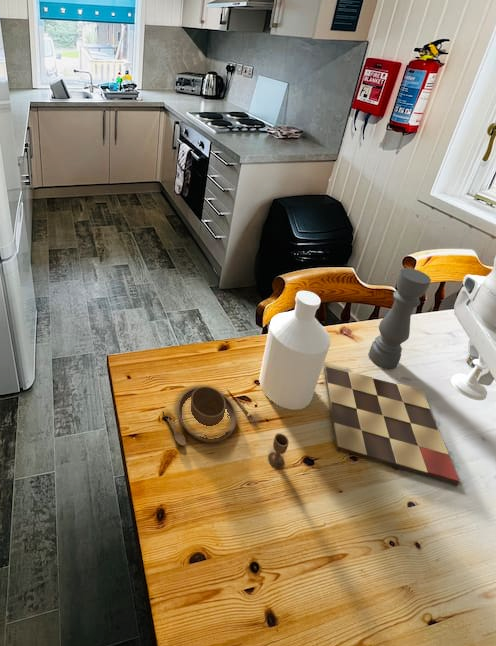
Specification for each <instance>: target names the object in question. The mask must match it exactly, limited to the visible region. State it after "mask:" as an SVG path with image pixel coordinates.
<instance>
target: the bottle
mask: <svg viewBox="0 0 496 646" xmlns="http://www.w3.org/2000/svg"><path fill="white" fill-rule="evenodd" d="M294 301H295V305H294V309H293V310H290V311H283V312H279V313H277V314H275V315H273V316H272V318H271V320H270V322H269V327H268V330H267V337H266V342H265V346H264V352H263V356H262V362H261V368H260V371H259V378H258V384H259V383H260V384H259V387H260V389H262V390H261V391H262V393H263V392H264V393H265V394H266V395H265V394H264V393H263V394H264V395H265V397H266V396H267V397H268V398H269V399H268V398H267V397H266V398H267V399H268V400H270V399H271V400H272V401H273V402H274V404H275V403H276V404H275V405H277V406H278V405H279V406H278V407H281V408H283V409H286V408H287V410H292V411H294V410H297V411H299V410H302V409H305V408H306V406H307V407H308V406H309V405H310V404H311V402H312V399H313V397H314V393H315V390H316V388H317V386H318V382H319V379H320V376H321V373H322V370H323V367H324V363H325V361H326V358H327V355H328V352H329V350H330V347H331V337H330V334H329V332H328V330H327V329H326V328H325V327H324V326H323V325H322V324H321V323H320V321H319V320H318V319H317V318H316V313H317V310H319V308H320V306H321V302H322V301H321V298H320V297H319V295H318V294H316V293H315V292H313V291H311V290H310V291H309V290H299V291H297V292H296V295H295V299H294ZM271 400H270V401H271ZM272 401H271V402H272ZM273 402H272V403H273Z"/></svg>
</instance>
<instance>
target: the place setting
mask: <svg viewBox="0 0 496 646" xmlns="http://www.w3.org/2000/svg"><path fill="white" fill-rule="evenodd" d="M190 397H191V412H192V415H193V416H194V418H195V419H196V420H197V421H198V422H199V423H201V424H203V425H206V426H213V425H216V424H218V423H219V422H220V421H221V420H222V419H223V417H224V413H225V409H227V412H228V413H229V415H228V414H227V415H228V416H230V419H231V421H230V422H231V423H230V424H231V425H230V428H229V431H228V432H226V433H225V435H223V436H221V437H219V438H214V439H208V438H207V437H206V438H204V437H201V436H198V435H196V434H195V433H193V432H192V431H190V430H189V429H188V428H187V427H186V425H185V424H184V422H183V419H182V407H183V404H184V403H185V401H186V400H187V399H188V398H190ZM237 400H238V401H236V403H237V402H238V403H239V404H238V403H237V404H238V406H240V407H241V409H242V410H243V411H244V413H245V414H246V413H247V414H248V413H249V411H248V410H247V409H246V408H245V406H244V405H243V404H242V403H241V401H240V400H239V399H238V398H237ZM177 416H178V419H179V422H180V424H181V426H182V428H183V429H184V431H186V433H188V434H189V435H190V436H191V437H193V438H194V439H196V440H199V441H201V442H204V443H210V444H211V443H219V442H222V441H224V440H226V439H228V438H229V437H230V436H231V435H232V434H233V433H234V430H235V428H236V425H237V419H238V417H237V412H236V409H235V406H234V405H233V403H232V401H231V400H230V399H229V398H228V397H227V395H225V394H224V393H222V392H221V391H219V390H217V389H216V388H214V387H211V386H195V387H192V388H190V389H188V390H186V391H185V392H184V393H183V394H182V395H181V396H180V398H179V400H178V404H177ZM228 416H227V417H228ZM228 418H229V417H228ZM166 419H167V418H165V420H166ZM249 419H250V420H249V422H251V423H252V424H253V425H254V426H256V425H257V424H258V423H259V420H258V419H256V417H255V416H253V415H252V416H251V417H250V418H249ZM166 421H167V423H168V422H169V423H168V424H169V425H170V427H171V429H172V431H173V436H174V440H175V442H176V443H177V444H178V445H179V446H181V447H185V446H186V445H187V441H186V440H187V439H186V438H185V436H184V435H183V434H182V433H181V432H180V431H178V430H177V429H176V427H175V426H174V424H173V422H172V421H171V419H170V417H169V416H168V419H167V420H166ZM205 436H206V435H205ZM289 443H290V442H289V439H288V437H287V436H286V435H285V434H283V433H276V434H275V435H274V437H273V443H272V447H273V449H274V451H272V452H270V453H268V457H267V460H268V462H269V464H270V465H271V464H272V465H271V466H272V467H274V466H275V467H274V468H276V469H281V468H283V466H284V465H285V460H284V457H283V456H282V455H283V454H285V453H286V452H287V450H288V446H289ZM277 467H278V468H277ZM280 467H281V468H280Z"/></svg>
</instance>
